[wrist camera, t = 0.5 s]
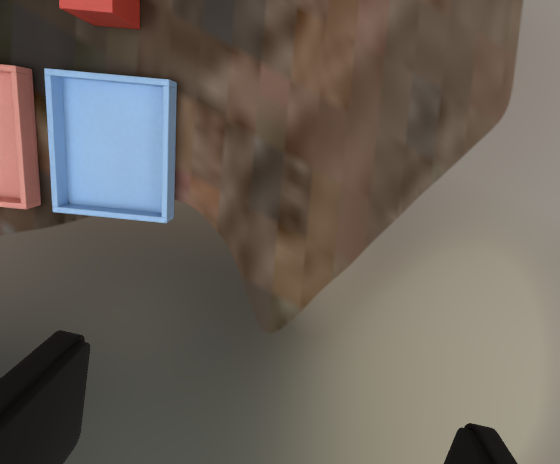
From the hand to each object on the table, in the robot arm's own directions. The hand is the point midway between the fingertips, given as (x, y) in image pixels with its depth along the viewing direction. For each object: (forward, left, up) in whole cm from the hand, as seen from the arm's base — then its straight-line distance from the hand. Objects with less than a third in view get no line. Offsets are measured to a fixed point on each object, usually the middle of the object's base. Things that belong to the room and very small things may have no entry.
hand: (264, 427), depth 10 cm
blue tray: (-12, -15, -34) cm, 39 cm away
